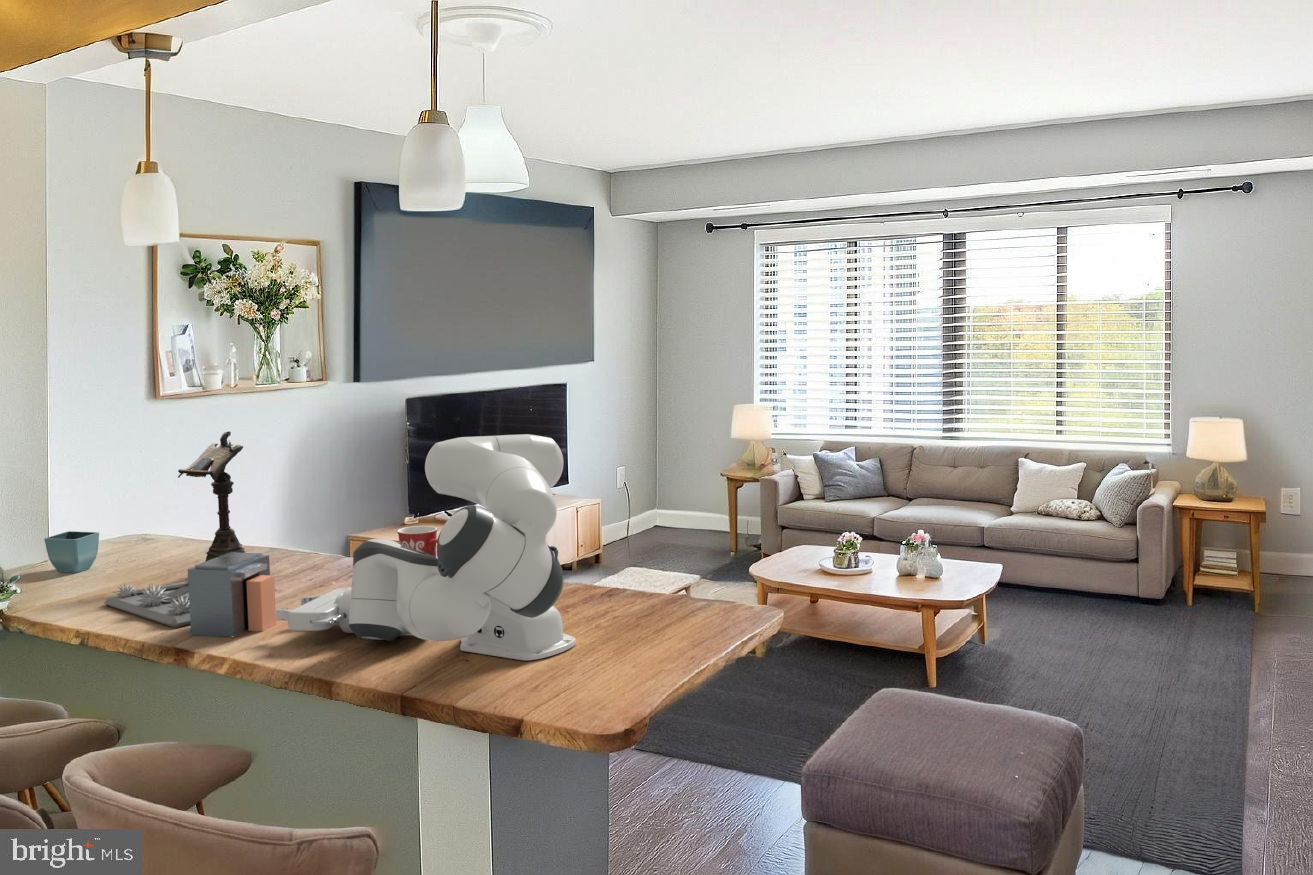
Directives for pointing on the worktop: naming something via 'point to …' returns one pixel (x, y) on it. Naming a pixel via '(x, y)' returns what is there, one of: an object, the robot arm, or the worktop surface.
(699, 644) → the worktop surface
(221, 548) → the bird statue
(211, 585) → the dispenser
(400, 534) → the mug
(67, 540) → the flower pot
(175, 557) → the worktop surface
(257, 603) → the tall salmon pillar
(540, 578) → the robot arm
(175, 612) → the spiky succulent planter
